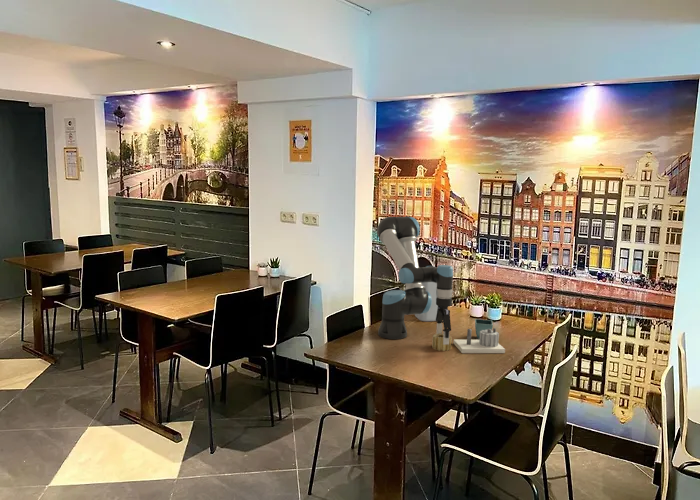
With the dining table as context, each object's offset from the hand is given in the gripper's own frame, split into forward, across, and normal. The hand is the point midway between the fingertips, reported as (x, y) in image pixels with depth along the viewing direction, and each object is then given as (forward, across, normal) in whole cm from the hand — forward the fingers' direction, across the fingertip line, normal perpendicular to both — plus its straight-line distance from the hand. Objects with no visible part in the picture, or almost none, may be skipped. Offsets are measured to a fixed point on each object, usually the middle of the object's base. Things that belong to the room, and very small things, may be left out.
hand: (442, 340), depth 255 cm
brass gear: (+4, +1, 0) cm, 4 cm away
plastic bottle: (+3, +56, -6) cm, 56 cm away
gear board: (+4, +1, -18) cm, 19 cm away
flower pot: (+4, +17, -26) cm, 31 cm away
